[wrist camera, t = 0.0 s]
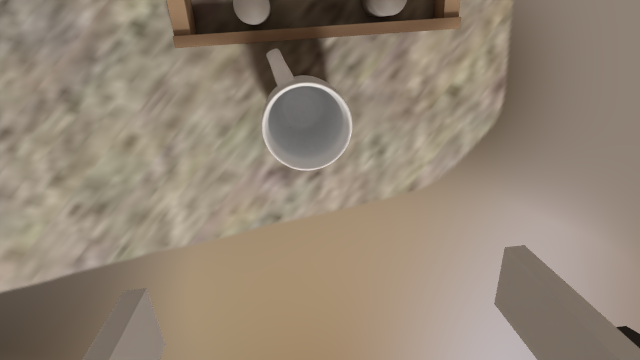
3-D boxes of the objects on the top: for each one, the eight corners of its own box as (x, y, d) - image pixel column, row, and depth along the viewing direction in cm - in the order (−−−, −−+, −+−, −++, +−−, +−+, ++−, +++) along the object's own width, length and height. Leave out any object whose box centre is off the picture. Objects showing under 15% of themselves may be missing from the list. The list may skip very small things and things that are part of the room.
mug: (238, 65, 36) (225, 77, 27) (306, 29, 35) (314, 29, 27) (287, 152, 40) (288, 185, 32) (348, 121, 39) (366, 147, 31)
